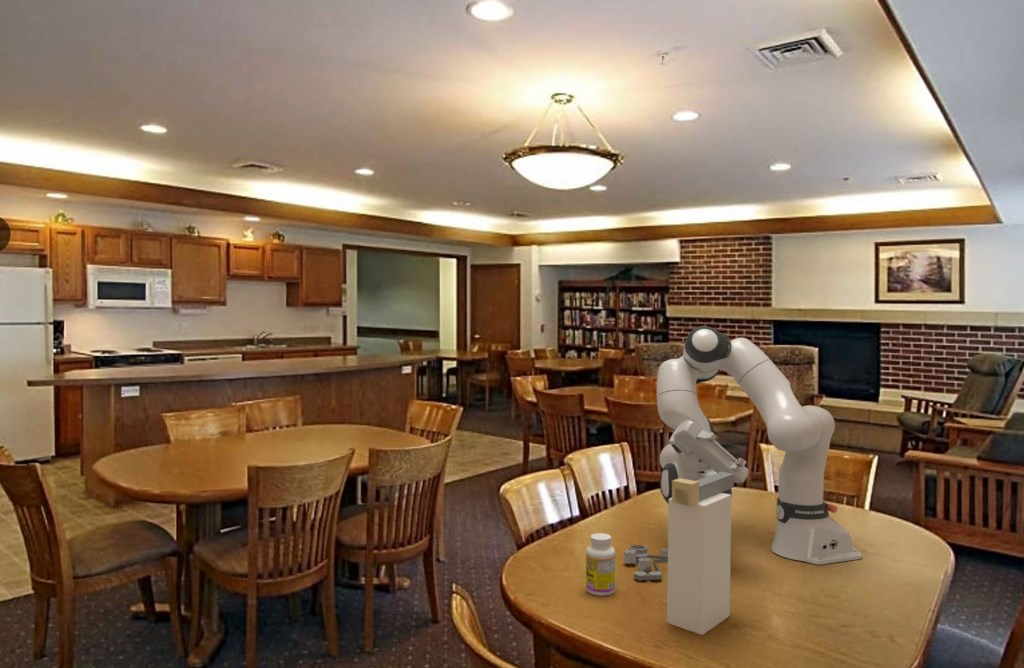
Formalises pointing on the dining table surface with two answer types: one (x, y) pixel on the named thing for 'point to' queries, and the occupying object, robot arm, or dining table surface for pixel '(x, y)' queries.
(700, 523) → the pillar
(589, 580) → the supplement bottle
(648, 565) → the pulley system
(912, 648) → the dining table surface
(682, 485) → the bar
